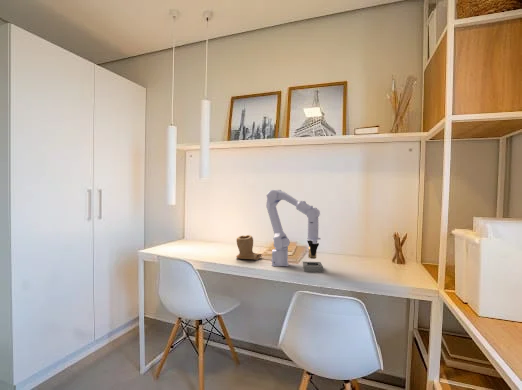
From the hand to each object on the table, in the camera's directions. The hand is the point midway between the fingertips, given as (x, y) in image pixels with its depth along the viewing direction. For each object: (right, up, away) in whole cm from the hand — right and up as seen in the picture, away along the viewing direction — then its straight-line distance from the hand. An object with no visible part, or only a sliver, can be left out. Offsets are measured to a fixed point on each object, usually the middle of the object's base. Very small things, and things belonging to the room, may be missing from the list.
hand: (312, 254), depth 156 cm
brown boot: (-37, -8, +22) cm, 44 cm away
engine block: (0, -8, 0) cm, 8 cm away
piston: (0, -2, 0) cm, 2 cm away
